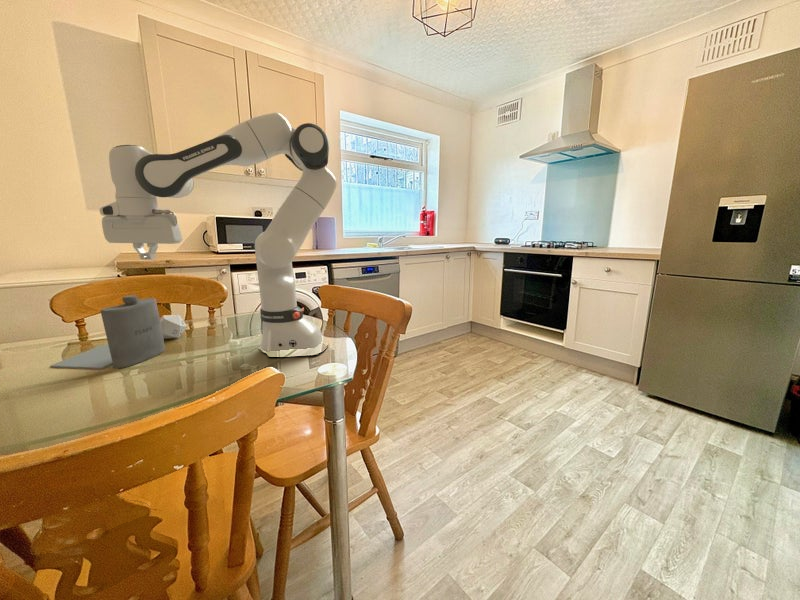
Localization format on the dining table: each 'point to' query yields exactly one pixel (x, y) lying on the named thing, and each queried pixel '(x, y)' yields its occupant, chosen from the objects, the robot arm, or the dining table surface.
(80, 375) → the dining table surface
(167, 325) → the die
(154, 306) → the grey flat lettered container
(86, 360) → the mat
